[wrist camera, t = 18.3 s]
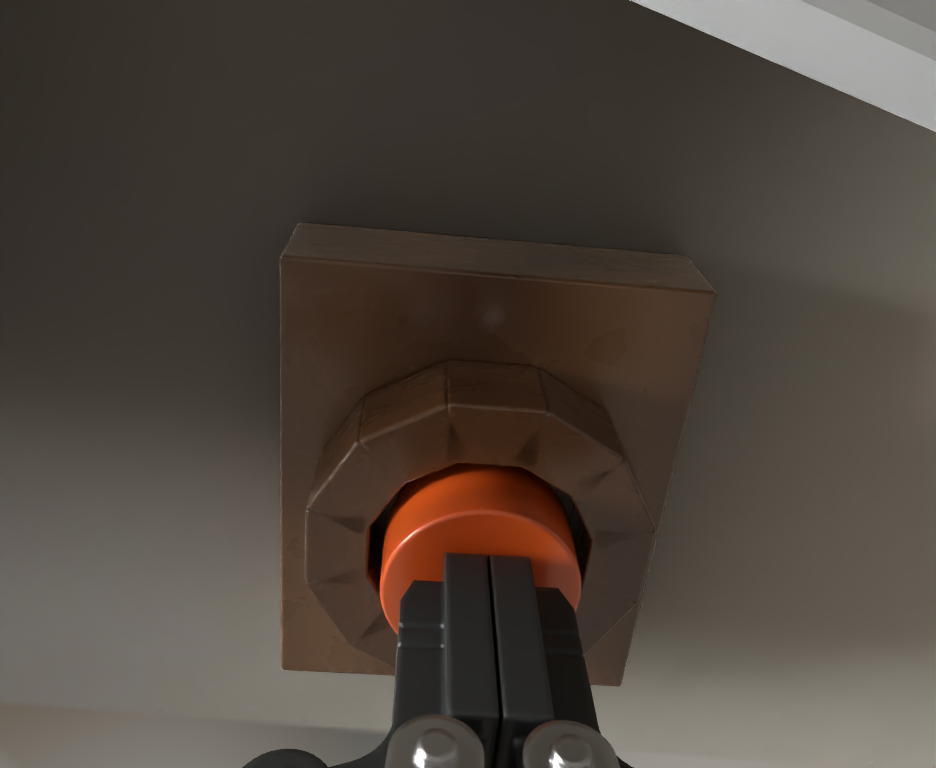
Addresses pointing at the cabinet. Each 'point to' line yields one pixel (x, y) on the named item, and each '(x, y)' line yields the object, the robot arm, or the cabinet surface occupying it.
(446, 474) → the button
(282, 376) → the control block
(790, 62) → the light switch
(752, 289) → the cabinet surface
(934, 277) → the cabinet surface
